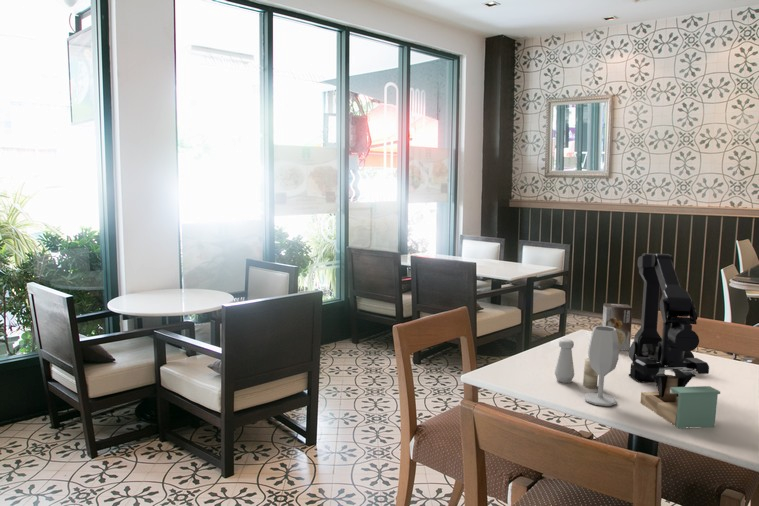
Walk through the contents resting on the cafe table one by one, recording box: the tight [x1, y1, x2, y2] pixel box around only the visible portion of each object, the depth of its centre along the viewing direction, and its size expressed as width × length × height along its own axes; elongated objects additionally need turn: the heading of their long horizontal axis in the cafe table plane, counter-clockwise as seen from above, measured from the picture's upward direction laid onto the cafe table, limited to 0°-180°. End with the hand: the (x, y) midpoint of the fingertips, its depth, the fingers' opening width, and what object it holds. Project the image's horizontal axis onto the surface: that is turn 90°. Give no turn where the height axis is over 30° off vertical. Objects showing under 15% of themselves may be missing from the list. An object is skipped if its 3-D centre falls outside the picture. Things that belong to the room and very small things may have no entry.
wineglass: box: [583, 325, 620, 407], centre depth 169 cm, size 9×9×21 cm
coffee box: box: [601, 302, 633, 351], centre depth 223 cm, size 9×6×16 cm
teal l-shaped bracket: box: [670, 385, 721, 429], centre depth 154 cm, size 11×4×9 cm, turn 97°
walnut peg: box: [660, 374, 678, 403], centre depth 165 cm, size 4×4×8 cm
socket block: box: [640, 391, 678, 427], centre depth 162 cm, size 10×16×3 cm, turn 7°
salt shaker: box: [554, 338, 575, 384], centre depth 186 cm, size 6×6×13 cm
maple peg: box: [582, 357, 599, 389], centre depth 182 cm, size 4×4×8 cm
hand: (668, 396), depth 165 cm, fingers closed on walnut peg, 4 cm apart
